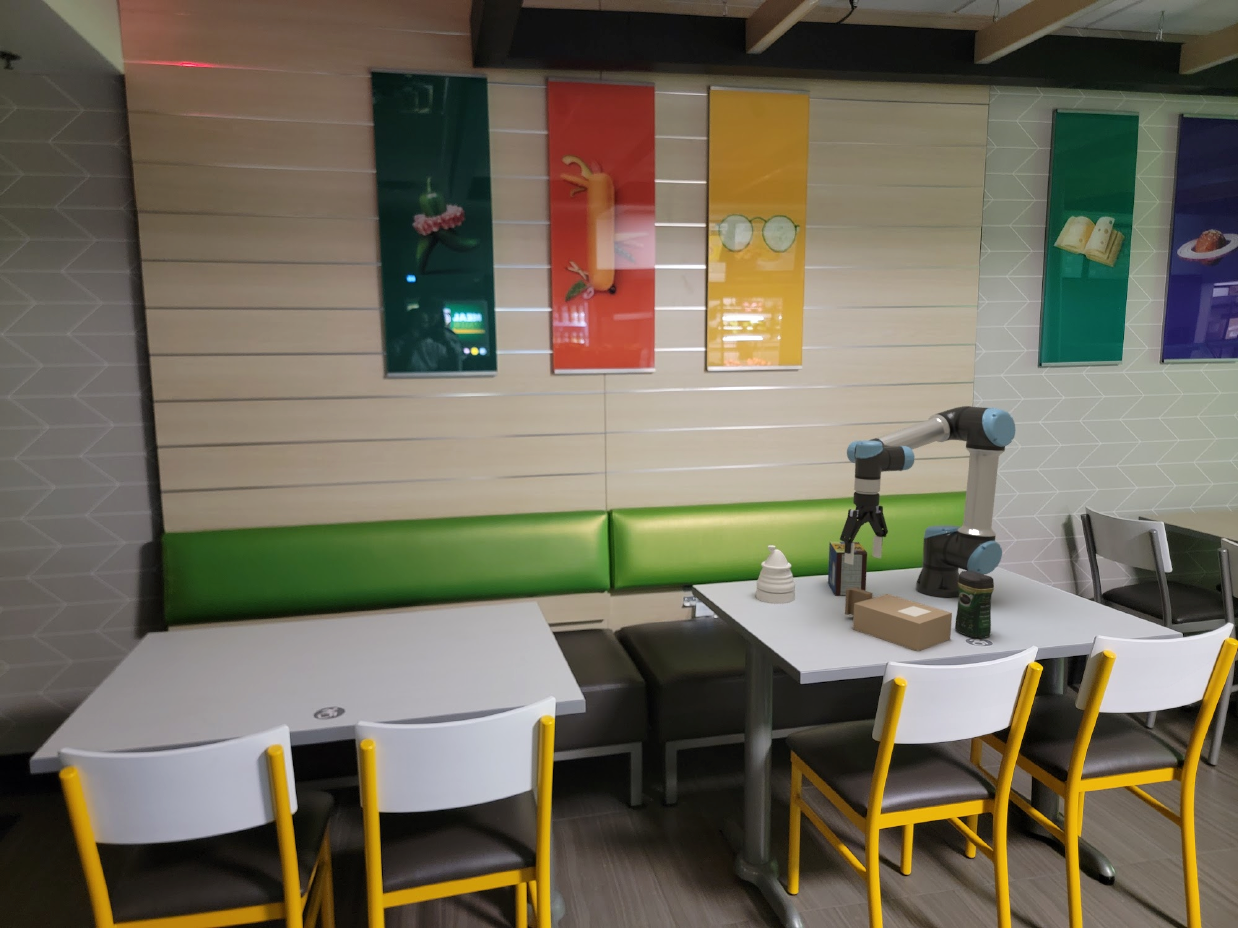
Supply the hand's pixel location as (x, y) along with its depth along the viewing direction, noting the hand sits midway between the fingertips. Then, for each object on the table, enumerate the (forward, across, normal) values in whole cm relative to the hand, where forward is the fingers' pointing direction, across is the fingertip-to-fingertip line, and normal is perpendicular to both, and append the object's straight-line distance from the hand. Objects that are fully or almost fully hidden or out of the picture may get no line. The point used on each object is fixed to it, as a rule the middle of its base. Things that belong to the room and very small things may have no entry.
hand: (863, 560), depth 248 cm
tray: (+18, 0, +10) cm, 21 cm away
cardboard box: (+19, 0, +14) cm, 24 cm away
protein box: (+19, -23, -24) cm, 38 cm away
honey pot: (+20, +4, -32) cm, 37 cm away
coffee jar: (+19, -18, +26) cm, 37 cm away
